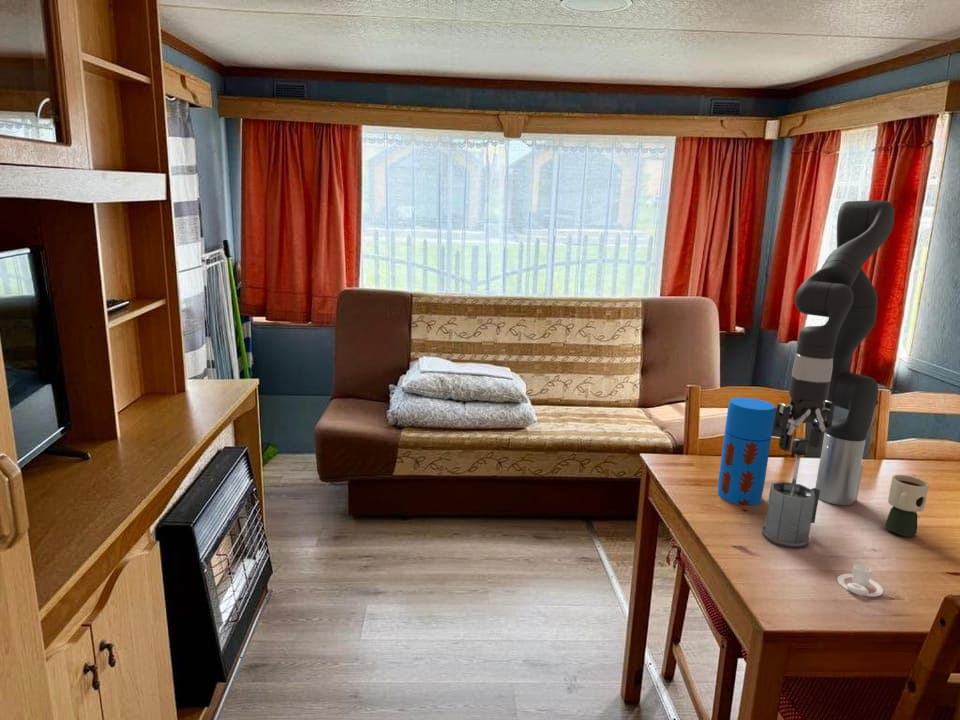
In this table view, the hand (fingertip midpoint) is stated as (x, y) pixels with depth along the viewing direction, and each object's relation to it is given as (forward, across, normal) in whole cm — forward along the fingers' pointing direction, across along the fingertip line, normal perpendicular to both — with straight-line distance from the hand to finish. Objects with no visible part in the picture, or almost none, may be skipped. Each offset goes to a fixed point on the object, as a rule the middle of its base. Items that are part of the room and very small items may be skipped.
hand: (799, 448), depth 144 cm
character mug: (+22, -29, +6) cm, 37 cm away
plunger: (+13, 0, 0) cm, 13 cm away
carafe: (+21, -2, 0) cm, 22 cm away
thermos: (+22, -6, -21) cm, 31 cm away
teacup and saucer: (+22, +3, +18) cm, 29 cm away
